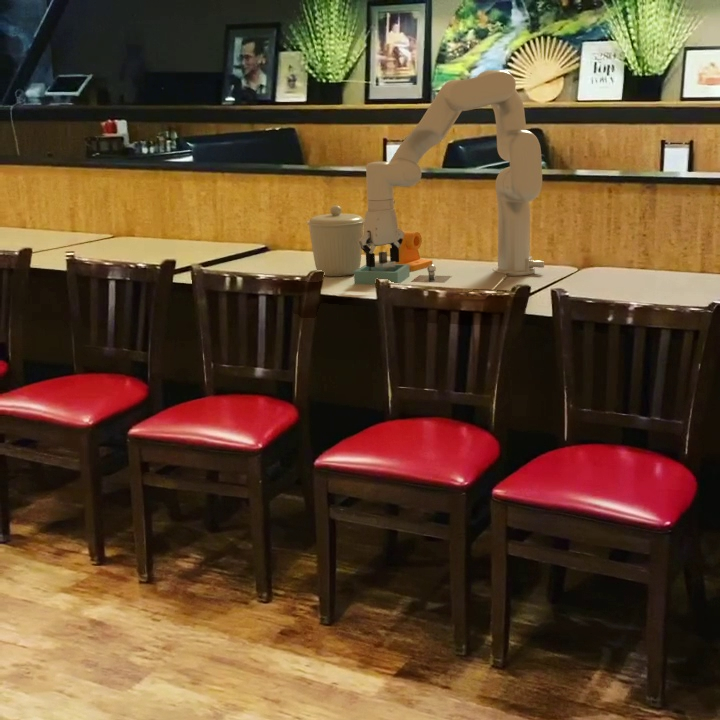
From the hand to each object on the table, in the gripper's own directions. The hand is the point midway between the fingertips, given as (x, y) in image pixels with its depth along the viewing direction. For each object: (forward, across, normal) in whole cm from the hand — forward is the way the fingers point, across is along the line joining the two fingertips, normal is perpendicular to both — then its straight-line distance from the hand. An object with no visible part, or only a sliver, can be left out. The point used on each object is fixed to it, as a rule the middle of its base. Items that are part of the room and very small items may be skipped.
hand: (382, 264), depth 307 cm
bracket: (+6, -20, -7) cm, 22 cm away
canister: (+6, -2, -22) cm, 23 cm away
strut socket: (+5, 0, 0) cm, 5 cm away
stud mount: (+6, -10, +10) cm, 15 cm away
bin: (+6, 0, 0) cm, 6 cm away
